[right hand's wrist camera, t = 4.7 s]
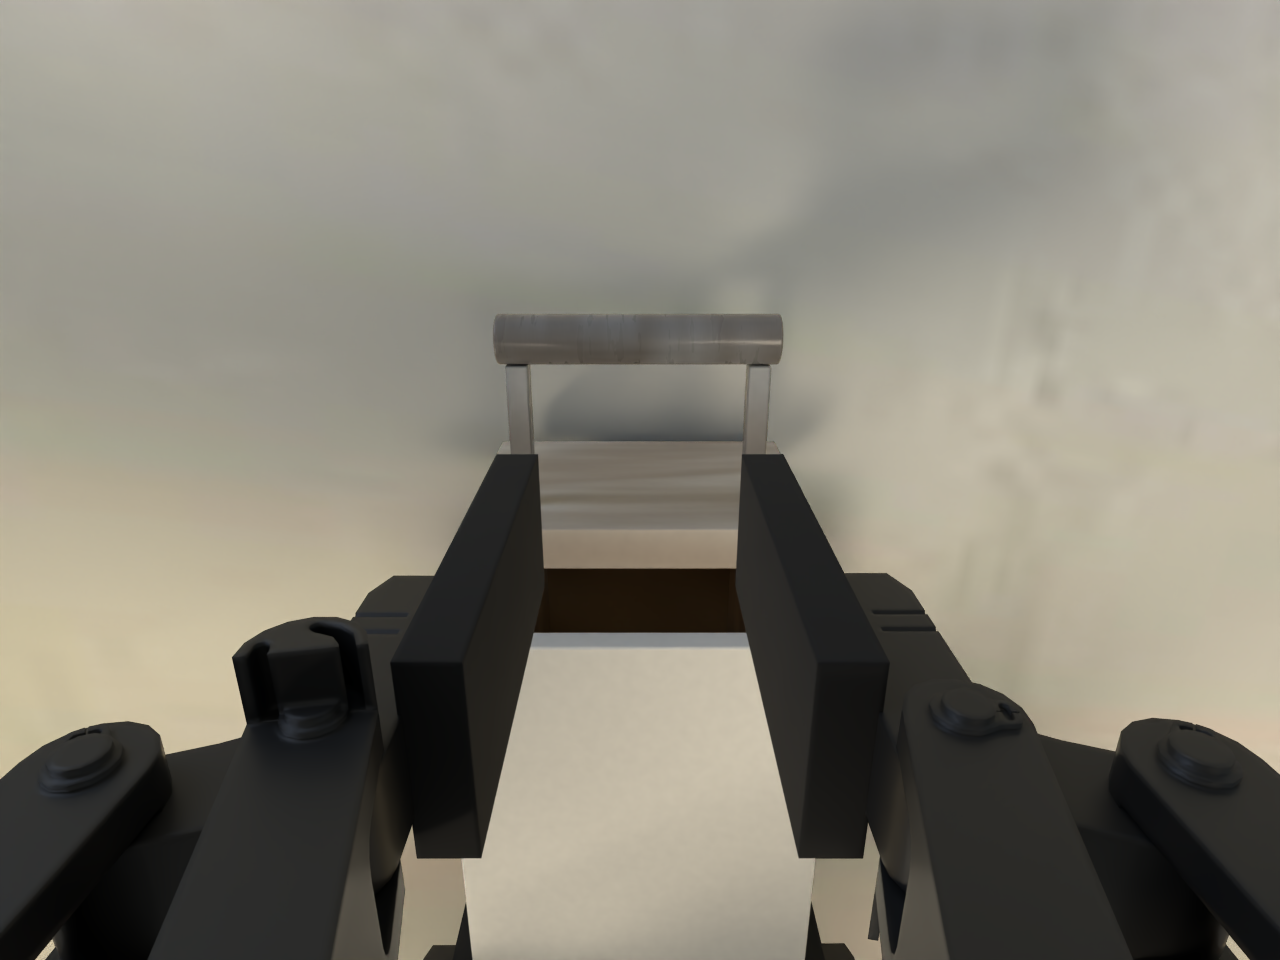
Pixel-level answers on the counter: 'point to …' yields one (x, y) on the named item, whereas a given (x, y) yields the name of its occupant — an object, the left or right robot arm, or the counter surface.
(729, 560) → the drawer
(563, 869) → the cabinet
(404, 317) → the counter surface
